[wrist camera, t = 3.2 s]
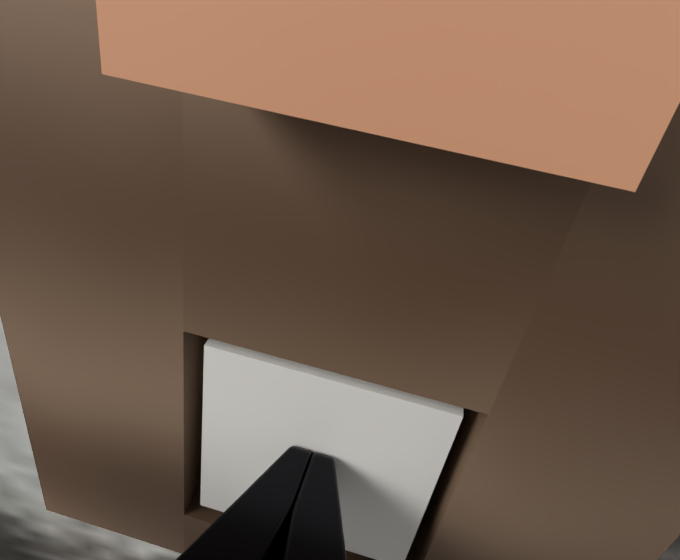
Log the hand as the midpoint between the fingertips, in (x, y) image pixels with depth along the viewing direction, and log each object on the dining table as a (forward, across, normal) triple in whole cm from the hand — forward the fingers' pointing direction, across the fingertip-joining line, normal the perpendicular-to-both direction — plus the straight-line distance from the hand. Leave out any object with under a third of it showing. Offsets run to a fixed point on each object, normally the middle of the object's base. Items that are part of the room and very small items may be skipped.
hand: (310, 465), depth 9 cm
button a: (+3, 0, 0) cm, 3 cm away
